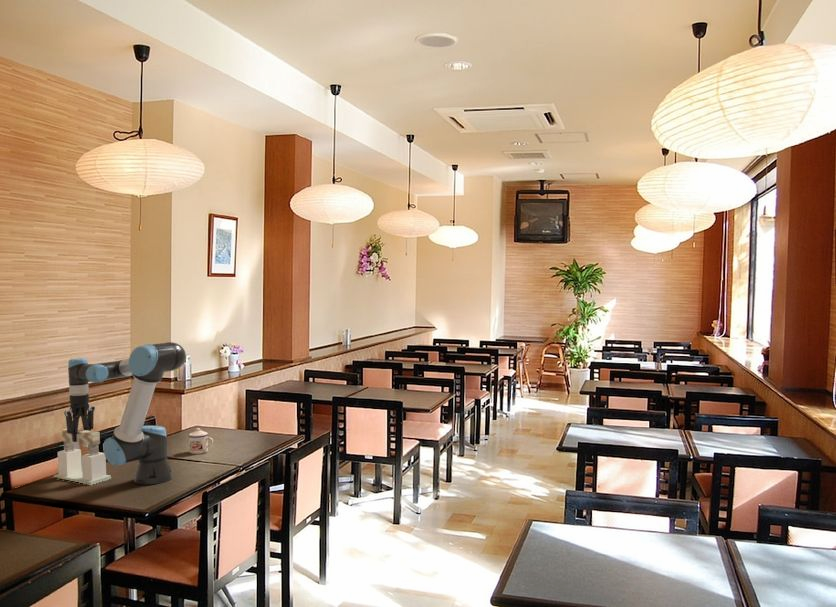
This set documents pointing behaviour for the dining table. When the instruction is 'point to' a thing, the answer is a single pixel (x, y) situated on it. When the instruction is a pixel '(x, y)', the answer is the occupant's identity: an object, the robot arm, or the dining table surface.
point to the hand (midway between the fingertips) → (81, 447)
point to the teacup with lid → (199, 442)
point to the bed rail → (82, 440)
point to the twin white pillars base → (82, 467)
